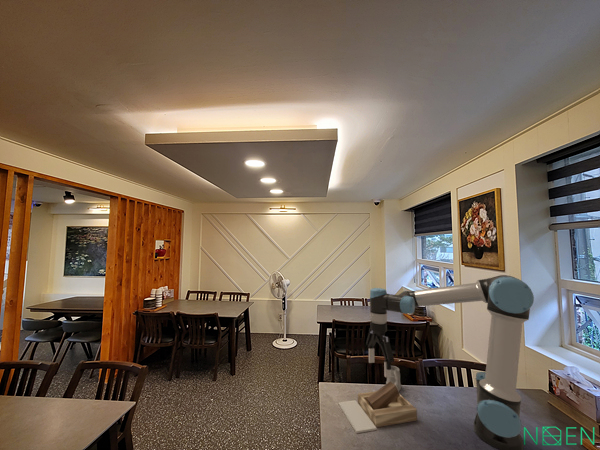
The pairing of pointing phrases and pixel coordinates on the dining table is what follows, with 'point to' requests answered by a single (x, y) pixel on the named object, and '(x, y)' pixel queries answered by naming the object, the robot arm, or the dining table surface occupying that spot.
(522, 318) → the robot arm
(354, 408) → the felt mat
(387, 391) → the walnut bar
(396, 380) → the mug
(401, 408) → the pocket board
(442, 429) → the dining table surface
